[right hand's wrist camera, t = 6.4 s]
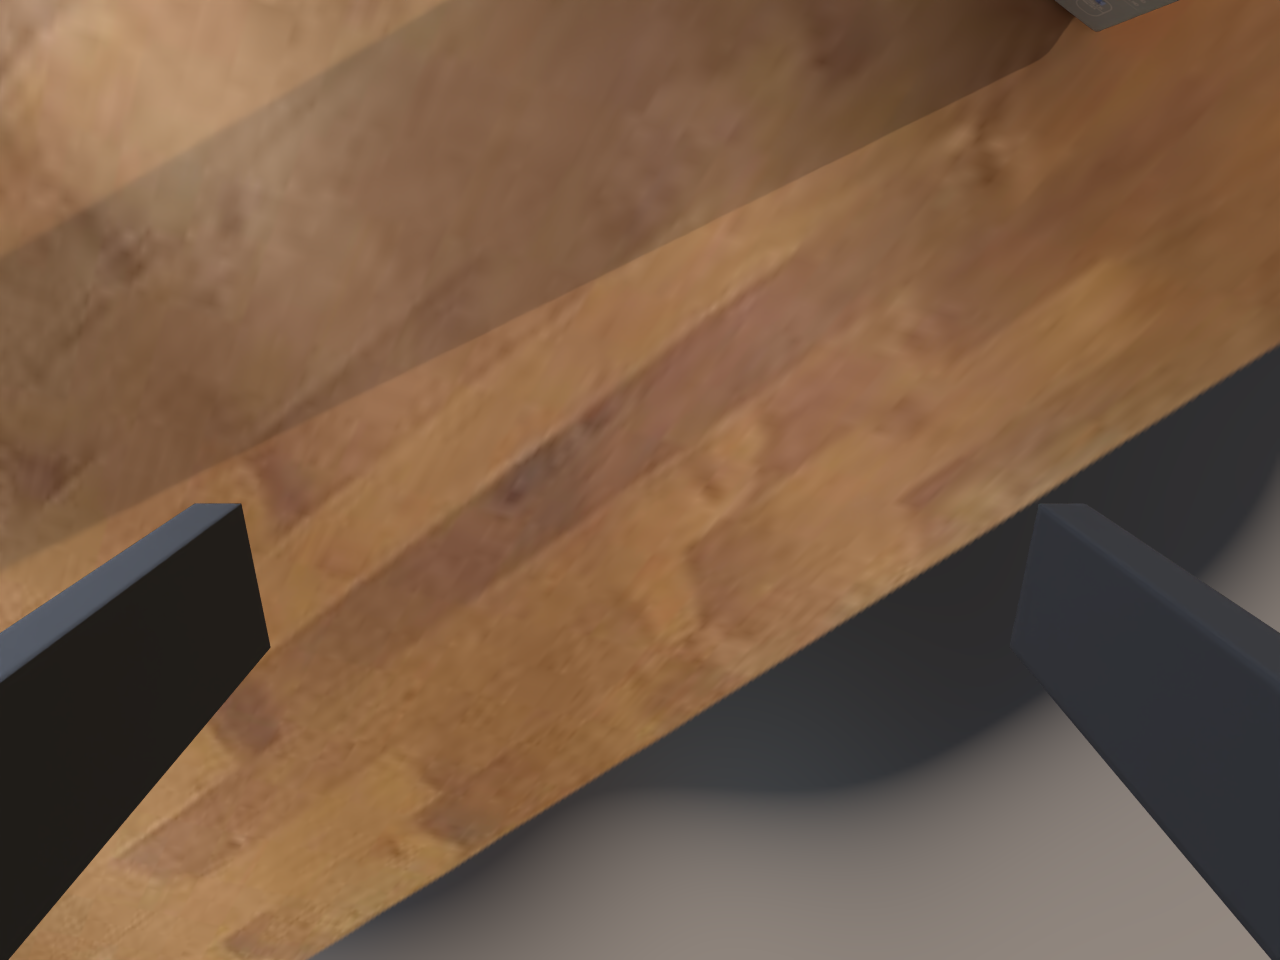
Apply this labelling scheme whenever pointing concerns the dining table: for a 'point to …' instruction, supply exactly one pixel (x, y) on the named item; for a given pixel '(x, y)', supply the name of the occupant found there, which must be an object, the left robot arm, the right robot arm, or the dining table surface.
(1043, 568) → the right robot arm
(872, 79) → the dining table surface
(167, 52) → the dining table surface
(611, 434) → the dining table surface
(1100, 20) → the hard drive box
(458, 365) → the dining table surface
